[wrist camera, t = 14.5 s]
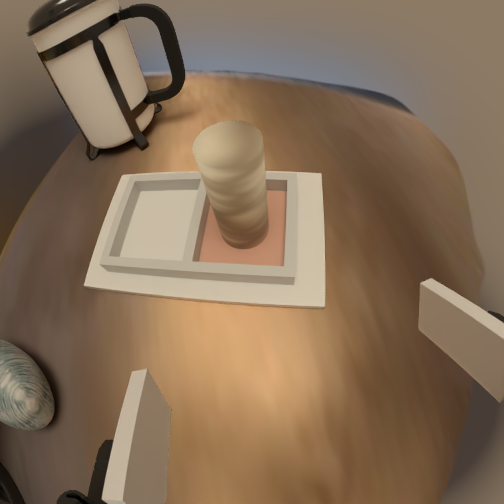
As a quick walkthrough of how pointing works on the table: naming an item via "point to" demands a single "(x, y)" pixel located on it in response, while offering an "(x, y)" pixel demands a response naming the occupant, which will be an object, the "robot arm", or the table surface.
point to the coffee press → (103, 67)
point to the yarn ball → (23, 390)
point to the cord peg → (235, 180)
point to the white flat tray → (211, 244)
